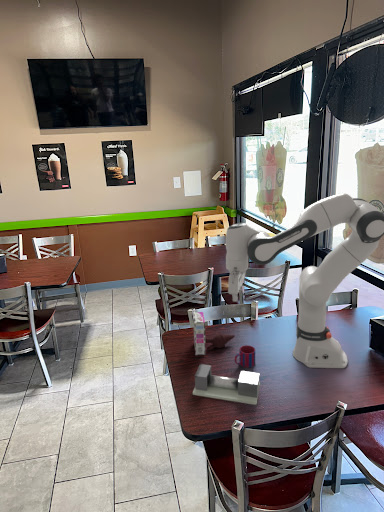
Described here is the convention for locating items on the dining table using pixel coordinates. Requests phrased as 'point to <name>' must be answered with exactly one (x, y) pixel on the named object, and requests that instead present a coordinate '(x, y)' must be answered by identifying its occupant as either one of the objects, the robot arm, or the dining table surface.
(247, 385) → the dark grey cube cap
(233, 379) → the tube
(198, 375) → the socket
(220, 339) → the icecream
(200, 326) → the candy bar box
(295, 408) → the dining table surface
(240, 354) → the mug
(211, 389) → the board
